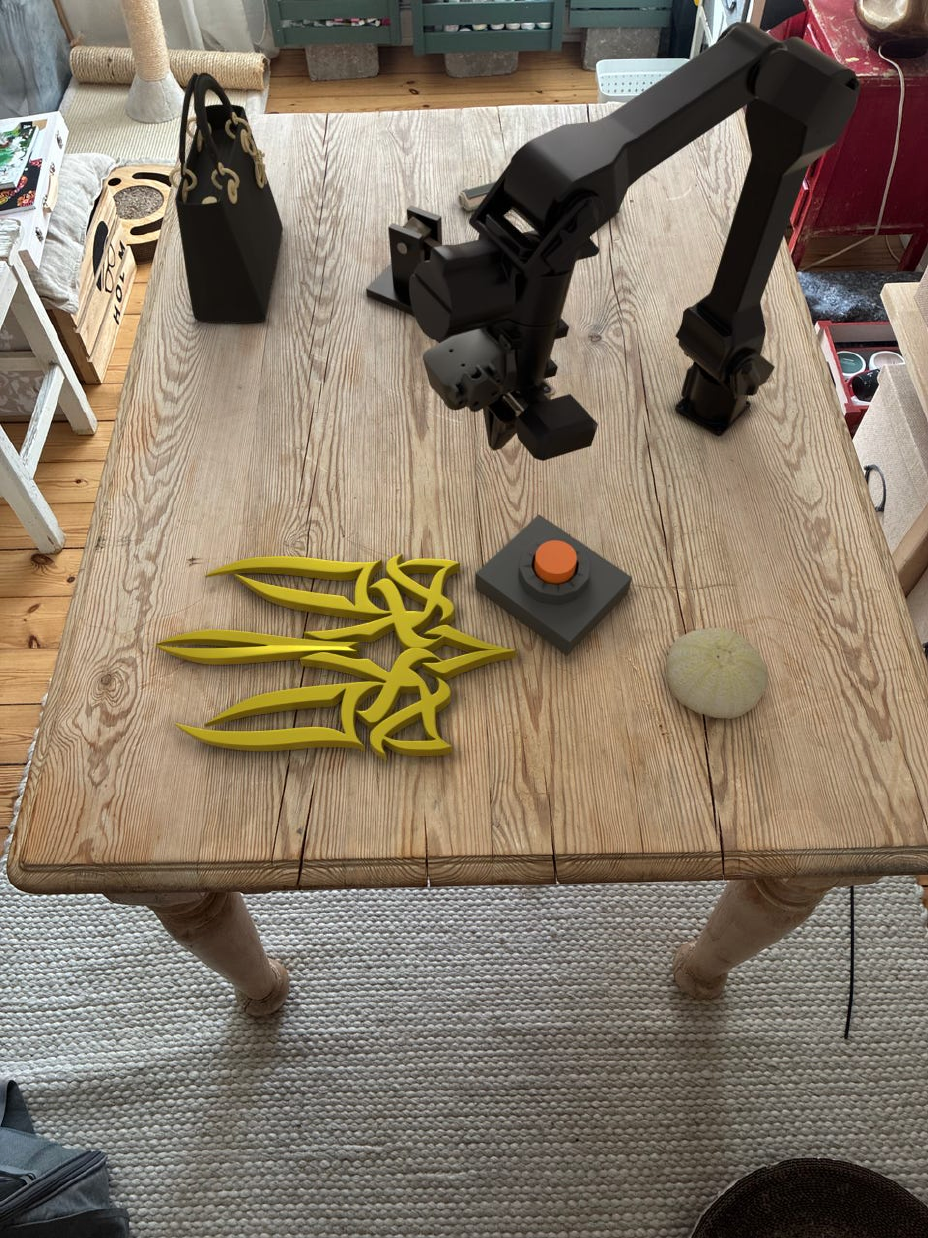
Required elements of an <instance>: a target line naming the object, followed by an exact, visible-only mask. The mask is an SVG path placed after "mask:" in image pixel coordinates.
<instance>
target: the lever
mask: <svg viewBox="0 0 928 1238" xmlns="http://www.w3.org/2000/svg"><path fill="white" fill-rule="evenodd" d="M402 227H404V228H407V229H409V230H412V231H415V232H417V233H420V234H422V235H423V238H424V249H426V250H427V251H429V252H430V253H431V250H432V249H433V247H437V246H442V245H443V244H442V245H441V244H439V243H438V242H437V241H435V240H434V239H432V238H431V237H430V234H431V230H432V229H431V228H429V227H428V226H427V225H425V224H424V223H422V222H421V221H419V220H418V219H416V218H415V217H412V218H411V219H410V220H409V221H408V222H407V221H406V222H405V223H404V224H403V226H402Z"/></svg>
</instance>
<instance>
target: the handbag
mask: <svg viewBox="0 0 928 1238" xmlns="http://www.w3.org/2000/svg"><path fill="white" fill-rule="evenodd" d="M208 90H210V91H211V92H213V93H214V94H215V95H216V96H217V97H218V99H219V101H220V103H221V104H219V103H218V104H217V103H215V104H209V105H206V94H207V91H208ZM192 97H193V110H194V114H195V116H193V117H190V118H189V113H190V112H189V111H190V106H191V100H192ZM181 109H182V110H181V117H180V126H179V135H178V140H179V141H178V160H179V163H180V166H179V167H175V168H173V169H172V170H171V171H170V172H169V174H168V178H169V183H170V184H171V185H172V186H173V188H175V189H177V191H176V195H175V198H174V202H175V208H176V215H177V221H178V227H179V228H178V229H179V235H180V241H181V248H182V254H183V261H184V266H185V274H186V280H187V281H186V282H187V287H188V295H189V298H190V304H191V311H192V314H193V317H194V319H195V320H196V321H199V322H207V323H208V322H209V323H230V324H231V323H234V324H235V323H236V324H240V323H258V322H262V321H264V320H265V319H266V317H267V312H268V307H269V303H270V298H271V292H272V289H273V287H272V286H273V282H274V278H275V273H276V267H277V263H278V257H279V252H280V246H281V241H282V236H283V229H284V228H283V223H282V220H281V216H280V213H279V210H278V207H277V203H276V201H275V197H274V195H273V191H272V188H271V186H270V183H269V179H268V177H267V173H266V164H265V163H264V159H263V158H265V157H266V153H265V152H262V150H261V149H258V146H257V144H256V140H255V137H254V135H253V130H252V127H251V125H250V122H249V119H248V117H247V113H246V110H245V107H244V106H241V105H239V104H232V103H231V101H230V99H229V96H228V95H227V93H226V92H225V90H224V88H223V87H222V86H221V84H220V83H219V82H218V81H217V80H216V78H215V77H214V76H213V75H211V74H210V73H208V72H200V73H197V72H193V73H192V74H191V77H190V78H189V79H188V81H187V85H186V87H185V92H184V96H183V101H182V108H181ZM194 122H195V126H196V128H195V131H194V134H193V132H192V131H191V130H190V124H191V123H194ZM187 135H188V137H189V138H191V139H192V141H191V144H190V147H189V152H188V154H187V157H186V150H187V149H186V147H187V146H186V145H187ZM176 173H179V175H180V180H179V184H177V182H176V181H175V179H174V176H175V174H176Z"/></svg>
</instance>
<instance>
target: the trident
mask: <svg viewBox="0 0 928 1238" xmlns="http://www.w3.org/2000/svg"><path fill="white" fill-rule="evenodd" d="M383 563H384V562H383V559H378V560H376V561H375V560H374V561H368V562H367V561H365V562H361V561H360V562H358V561H355V562H354V561H337V560H329V559H322V558H316V557H315V558H313V557H306V556H293V555H291V556H290V555H289V556H287V555H276V556H274V555H273V556H258V557H250V558H249V557H248V558H244V559H240V560H237V561H233V562H229V563H228V564H225V565H223V566H220V567H218V568H216V569H214V570H211V571H210V572H208V573H206V574H205V575H204V578H205V579H206V578H211V577H219V576H227V575H233V576H234V578H235V579H236V580H237V581H238V582H240V583H241V584H243V585H244V586H245V587H246V588H248V589H249V590H250V591H252V592H253V593H254V594H256V595H257V596H259V597H261V598H262V599H264V600H265V601H267V602H269V603H272V604H274V605H277V606H280V607H284V608H287V609H292V610H296V611H300V612H306V613H311V614H317V615H324V616H330V617H336V618H337V617H338V618H345V619H353V620H360V621H367V622H366V623H362V624H358V625H352V626H348V627H341V628H335V629H329V630H314V631H313V630H312V631H303V636H304V638H299V637H288V636H281V635H273V634H267V633H259V632H251V631H243V630H232V629H218V628H217V629H200V630H195V631H189V632H185V633H181V634H178V635H174V636H170V637H167V638H166V639H163V640H161V641H159V642H157V643H155V646H156V647H157V648H158V649H159V650H161V651H162V652H164V653H165V654H168V655H171V656H172V657H173V656H174V657H176V658H178V659H182V660H185V661H189V662H192V663H196V664H203V665H215V666H216V665H218V666H219V665H221V666H222V665H224V666H225V665H227V666H228V665H243V664H259V663H269V662H282V661H294V660H299V662H300V665H301V667H305V668H315V669H322V670H330V671H334V672H339V673H343V674H347V675H351V676H354V677H358V678H361V679H364V680H366V681H357V682H347V683H346V682H345V683H336V684H323V685H322V684H321V685H313V686H304V687H303V686H302V687H296V688H288V689H281V690H275V691H270V692H265V693H262V694H258V695H257V694H256V695H255V696H251V697H248V698H246V699H244V700H242V701H240V702H238V703H235V705H232V706H231V707H229V708H227V709H225V710H224V711H222V712H221V713H219V714H218V715H216V716H215V717H213V718H211V719H210V720H208V721H207V722H205V723H204V724H203V726H204V727H205V728H206V729H204V728H199V727H193V726H188V725H185V724H181V723H177V722H174V721H173V722H172V723H173V724H174V726H176V727H177V728H178V729H179V730H180V731H182V732H183V733H185V734H186V735H188V736H190V737H192V738H194V739H195V740H197V741H199V742H202V743H203V744H206V745H210V746H213V747H216V748H222V749H227V750H228V749H229V750H236V751H237V750H238V751H245V752H279V751H280V752H281V751H292V750H303V749H304V750H305V749H318V748H342V749H343V748H344V749H355V750H359V751H362V752H364V753H366V747H365V745H364V744H363V743H362V742H361V741H360V740H359V738H358V735H357V732H356V718H357V719H358V720H359V721H360V722H361V723H362V724H364V725H365V726H366V727H367V728H368V729H369V730H371V731H370V734H369V743H370V748H371V750H372V752H373V753H374V754H375V755H376V756H377V757H378V758H380V759H381V760H383V761H385V762H387V761H388V757H387V753H386V752H385V751H384V748H385V747H386V748H387V749H388V750H390V751H392V752H394V753H396V754H399V755H401V756H402V755H403V756H408V757H441V756H446V755H449V754H453V746H452V745H451V744H449V743H448V742H446V741H445V740H443V739H442V738H441V737H440V736H439V733H438V730H437V714H438V713H440V711H443V710H444V709H445V708H446V707H447V706H449V705H450V703H451V701H452V690H451V687H450V686H449V685H448V683H447V682H446V681H448V680H450V679H451V678H454V677H457V676H459V675H462V674H464V673H466V672H469V671H472V670H474V669H478V668H479V667H483V666H485V665H488V664H492V663H497V662H500V661H506V660H512V659H515V658H516V655H517V650H515V649H512V648H506V647H503V646H499V645H495V644H492V643H489V642H486V641H484V640H480V639H479V638H476V637H474V636H471V635H469V634H467V633H464V632H462V631H461V630H458V629H456V628H453V627H452V626H450V624H451V623H452V622H453V621H454V620H455V617H456V607H455V604H454V603H453V602H452V600H450V599H449V598H447V597H445V596H444V595H443V594H444V590H445V589H444V587H445V585H446V582H447V580H448V579H449V578H450V577H451V576H453V575H456V574H457V573H460V572H461V562H459V561H455V560H451V559H444V558H443V559H442V558H415V559H410V560H407V561H405V562H404V556H403V553H400V554H397V555H395V556H392V557H391V558H390V559H388V561H387V562H386V564H385V575H386V578H381V579H379V580H377V582H375V583H373V584H372V582H373V579H374V578H375V576H376V574H377V573H379V572H380V571H381V570H383V569H384V564H383ZM239 574H270V575H286V576H295V577H303V578H309V579H310V578H311V579H319V580H324V581H325V580H326V581H337V582H341V581H342V582H344V581H345V582H346V581H353V580H356V582H355V584H354V585H355V586H354V604H353V603H352V602H351V601H350V600H349V599H348V598H347V597H346V596H344V595H337V594H328V593H327V594H326V593H320V592H314V591H313V592H312V591H306V590H300V589H295V588H288V587H283V586H278V585H273V584H268V583H265V582H262V581H261V582H260V581H257V580H254V579H251V578H248V577H245V576H243V575H239ZM411 574H430V575H434V576H433V578H432V580H431V583H430V586H429V588H426V586H425V587H424V586H423V585H421V584H419V583H418V582H416V581H414V580H413V579H411V578H410V577H408V576H407V575H411ZM371 584H372V585H371ZM401 593H402V594H403V595H405V596H407V597H408V598H410V599H412V600H413V601H415V602H417V603H419V604H421V605H423V606H425V607H424V610H423V611H418V610H417V611H415V610H407V608H406V607H405V604H404V601H403V598H402V595H401ZM369 596H370V597H379V598H381V600H382V601H383V603H384V604H385V606H386V608H387V610H383V609H380V608H379V607H377V606H376V605H375V604H374V603H373V602H372V601H371V600H370V598H369ZM437 614H439V615H440V616H441V618H440V619H439V620H438V626H436V627H434V628H432V629H430V630H428V631H425V632H424V633H423V637H422V636H420V635H418V634H419V633H421V632H422V631H423V630H424V629H426V628H427V627H428V626H429V625H430V624H431V623H432V621H433V619H435V616H437ZM392 632H395V635H396V639H397V641H398V644H399V645H400V648H401V649H402V650H403V652H401V653H400V654H399V656H398V657H397V658H396V659H395V662H394V663H393V665H392V667H391V669H390V671H389V672H388V671H387V670H385V669H383V668H382V667H381V666H379V665H377V664H376V663H375V662H374V661H372V660H371V659H369V658H360V655H359V651H360V650H361V647H360V646H361V645H360V643H369V644H372V643H375V642H376V641H378V640H379V639H381V638H383V637H384V636H386V635H388V634H391V633H392ZM174 645H176V646H177V645H197V646H198V645H199V646H200V645H202V646H214V647H213V648H208V647H207V648H197V647H196V648H195V647H172V646H174ZM444 645H445V646H449V647H451V648H454V649H457V650H459V651H462V652H465V653H466V654H461V655H458V656H455V657H452V658H448V659H445V660H442V659H441V658H439V657H438V656H437V655H435V654H434V653H433V652H435V651H437V650H438V649H439V648H441V647H443V646H444ZM215 646H216V648H215ZM217 646H218V647H217ZM420 667H421V670H422V672H424V673H426V674H427V675H429V676H431V677H432V678H435V685H436V686H437V691H436V692H435V693H433V694H432V693H431V691H430V689H429V687H428V685H427V683H426V681H425V680H424V679H423V678H422V677H421V676H420V675H419V674H418V673H417V672H415V671H416V670H418V669H419V668H420ZM375 694H378V695H377V697H376V699H375V700H374V702H373V703H372V704H371V706H369V708H368V709H365V710H361V711H360V710H359V708H360V706H361V705H362V703H364V702H365V701H366V700H367V699H369V698H370V697H372V696H374V695H375ZM402 694H407V695H408V694H409V695H411V694H419V698H420V700H419V701H416V702H415V703H413V704H411V705H408V706H407V707H404V708H402V709H400V710H399V711H396V712H395V713H393V711H394V710H395V708H396V705H397V703H398V701H399V699H400V697H401V695H402ZM340 702H341V707H340V708H341V709H340V720H341V725H342V728H343V732H342V731H339V730H337V729H334V728H329V727H322V726H307V727H306V726H305V727H293V728H281V729H271V730H270V729H269V730H255V731H254V730H253V731H252V730H251V731H249V730H248V731H244V730H243V731H241V730H240V731H237V730H236V731H235V730H233V731H230V730H214V729H207V728H210V727H213V726H217V725H220V724H224V723H227V722H231V721H234V720H238V719H243V718H247V717H253V716H259V715H267V714H272V713H281V712H287V711H296V710H304V709H305V710H307V709H317V708H318V709H319V708H332V707H335V706H336V705H338V704H339V703H340ZM392 713H393V714H392ZM420 720H421V721H422V725H423V730H424V733H425V736H426V738H427V740H398V739H392V737H394V735H396V734H397V733H399V732H401V731H402V730H403V729H405V728H407V727H409V726H410V725H413V724H415V723H416V722H418V721H420Z"/></svg>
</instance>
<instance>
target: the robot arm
mask: <svg viewBox="0 0 928 1238" xmlns="http://www.w3.org/2000/svg"><path fill="white" fill-rule="evenodd" d="M860 91H861V81H860V80H859V79H858V76H857V73H856V71H855V70H853V69H851V68H849V66H847V65H845V64H843V63H841V62H840V61H838V60H837V59H836V58H833V57H831V55H828V54H827V53H825V52H823V51H821V49H819V48H817V47H815V46H814V45H812V44H811V43H809V42H807V41H806V40H804V39H803V38H801V37H799V36H790V37H788V38H786V39H784V40H782V41H781V40H779V39H777V38H776V37H774V36H772V35H771V34H770V33H768V32H766V31H764V30H763V29H761V28H760V27H758V26H757V25H755V24H754V23H751V22H749V21H748V22H747V21H744V22H742V21H736V22H734V23H730V24H729V25H728V26H727V27H726V28H725V29H724V30H723V31H722V32H721V34H720V35H719V36H718V38H717V40H716V42H715V43H713V44H712V45H710V46H709V47H707V48H706V49H705V50H703V51H702V52H700V53H698V54H697V55H695V56H694V57H693V58H691V59H690V60H688V61H687V62H685V63H683V64H682V65H681V66H679V67H678V68H676V69H674V70H673V71H672V72H670V73H668V74H667V75H666V76H664V77H663V78H662V79H660V80H659V81H657V82H656V83H654V84H652V85H651V86H650V87H648V88H647V89H645V90H644V91H642V92H640V93H639V94H638V95H636V96H635V97H633V98H632V99H630V100H629V101H627V102H626V103H625V104H623V105H621V106H620V107H618V108H617V109H615V110H614V111H612V112H610V114H607V115H606V116H603V117H601V118H599V119H598V120H594V121H586V122H576V123H575V122H574V123H565V124H562V125H560V126H557V127H555V128H553V129H551V130H549V131H547V132H545V133H542V134H541V135H538V136H537V137H534V138H532V139H530V140H528V141H527V142H525V143H524V144H523V145H522V146H521V147H520V148H518V150H516V152H515V153H514V154H513V155H512V156H511V159H510V162H509V163H508V165H507V166H506V167H505V169H504V170H503V171H502V172H501V174H500V175H499V176H498V178H497V180H495V181H496V183H495V184H494V185H493V187H492V188H491V190H490V191H489V192H488V194H487V195H486V197H485V198H484V199H483V201H482V202H481V203H480V205H479V206H478V208H477V209H476V210H474V212H473V213H472V214H471V215H470V217H469V219H468V225H470V226H471V228H473V230H475V231H476V232H477V233H478V238H477V239H475V240H471V241H466V242H462V243H456V244H442V246H437V247H433V249H432V250H431V254H430V260H429V261H424V262H422V263H420V264H418V266H417V267H416V268H415V271H414V273H413V275H411V276H410V282H409V293H410V301H411V306H412V310H413V313H414V316H413V317H414V318H415V320H416V323H417V325H418V326H419V328H420V329H421V331H422V332H423V334H424V335H425V336H427V337H428V338H429V339H431V340H434V341H436V343H437V344H436V345H433V346H431V347H430V348H428V349H427V350H426V351H424V353H423V355H422V361H423V364H424V365H423V366H424V369H425V372H426V375H427V380H428V383H429V386H430V387H431V389H432V390H434V391H435V393H436V394H437V395H438V397H439V398H440V399H441V400H442V401H443V403H444V405H445V406H446V407H447V409H449V410H452V411H460V410H462V409H465V408H467V409H468V410H469V411H470V412H472V413H478V412H480V411H482V412H483V418H484V425H485V432H486V437H487V443H488V446H489V447H490V449H491V451H493V452H494V451H498V450H501V449H503V448H504V447H505V446H506V445H507V444H508V443H509V442H510V441H511V440H512V439H513V438H514V437H515V436H516V435H517V440H518V441H519V442H520V443H521V445H522V446H524V448H525V449H526V451H527V452H528V453H529V454H530V455H531V456H532V458H534V459H535V460H539V461H543V462H544V461H547V460H552V459H554V458H557V457H560V456H563V455H568V454H570V453H574V452H577V451H579V450H582V449H586V448H589V447H592V445H593V441H594V439H595V436H596V433H597V430H598V427H599V423H598V422H597V421H596V420H595V419H594V417H593V416H592V415H591V414H590V413H589V412H588V411H587V410H586V409H585V408H584V406H582V404H581V403H580V402H579V401H578V400H577V398H575V397H574V396H573V395H572V394H571V393H568V394H565V395H561V396H557V397H553V396H555V395H556V394H557V393H556V392H557V389H556V388H555V387H554V386H553V385H552V384H551V383H550V382H549V380H548V379H550V378H553V377H556V375H557V373H558V369H559V366H558V365H557V364H556V362H555V361H554V360H553V359H552V358H551V356H552V352H553V348H554V345H555V341H556V340H559V339H563V338H567V337H568V333H569V329H570V325H569V324H567V322H566V321H564V319H563V318H562V315H563V311H564V309H565V304H566V302H567V301H566V300H567V296H568V293H569V289H570V285H571V282H572V278H573V275H574V271H575V267H576V264H577V262H578V261H582V260H585V259H589V258H594V257H596V256H597V255H599V253H600V247H599V246H598V245H597V244H595V242H594V241H593V240H592V238H591V237H592V236H593V235H594V234H596V232H598V231H599V230H600V229H602V227H603V226H604V225H606V224H607V223H608V222H609V221H610V220H612V218H614V217H615V216H616V215H617V214H618V213H617V212H618V211H619V212H620V209H621V205H622V204H623V201H624V199H625V197H626V195H627V192H628V190H629V188H631V186H632V185H633V184H635V183H636V182H637V181H638V180H639V179H640V178H642V176H644V175H646V174H647V173H649V172H650V171H652V170H653V169H655V168H656V167H658V166H659V165H660V164H662V163H663V162H665V161H667V160H668V159H669V158H671V157H673V156H674V155H675V154H676V153H678V152H679V151H681V150H682V149H684V148H686V147H687V146H688V145H690V144H691V143H693V142H694V141H695V140H697V139H699V138H700V137H702V136H703V135H705V134H706V133H708V132H709V131H710V130H712V129H714V128H715V127H716V126H717V125H719V124H721V123H722V122H724V121H725V120H726V119H728V118H729V117H731V116H733V115H734V114H736V113H737V112H739V111H740V110H741V109H742V108H744V107H745V114H744V123H745V127H746V134H747V137H748V143H749V148H750V153H751V154H750V155H751V157H750V160H749V165H748V167H747V171H746V174H745V178H744V181H743V184H742V187H741V190H740V194H739V197H738V201H737V204H736V206H735V211H734V214H733V216H732V220H731V224H730V227H729V230H728V234H727V237H726V240H725V243H724V248H723V250H722V253H721V257H720V260H719V262H718V263H719V264H718V267H717V270H716V274H715V276H714V280H713V284H712V286H711V289H710V292H709V293H708V294H707V295H705V296H704V297H702V298H701V299H700V300H699V301H697V302H696V303H695V304H693V305H691V306H688V307H686V308H685V309H684V310H683V311H682V318H681V324H680V325H679V329H678V330H677V332H676V333H675V338H676V339H677V340H678V346H679V348H680V349H681V350H682V351H683V355H685V356H686V357H688V358H689V359H690V360H692V361H693V362H692V364H691V365H690V366H689V367H688V368H687V370H686V373H685V377H684V381H683V384H682V388H681V392H680V396H681V397H682V399H681V400H679V401H678V402H677V403H676V404H675V406H674V411H675V412H676V413H678V414H680V415H681V416H683V417H685V418H687V419H688V420H690V421H692V422H693V423H695V424H696V425H698V426H701V428H703V429H705V430H707V431H709V432H710V433H712V434H714V435H716V436H718V437H721V436H724V434H726V432H728V431H729V429H730V428H732V426H733V425H735V423H736V422H738V421H739V420H740V419H741V418H742V416H744V415H745V414H746V412H747V411H748V410H749V409H751V406H752V403H751V402H750V401H749V400H748V398H749V397H753V396H755V395H757V393H758V392H759V391H758V390H759V388H760V386H762V385H764V384H766V383H767V382H768V380H769V379H770V376H771V375H772V373H773V371H774V370H775V368H776V367H775V365H773V364H772V363H771V362H770V361H769V360H768V359H766V357H764V356H763V355H762V351H763V347H764V343H765V338H766V333H767V328H766V323H765V317H764V312H763V307H762V303H761V301H762V298H763V296H764V292H765V290H766V288H767V284H768V281H769V278H770V276H771V274H772V270H773V268H774V265H775V262H776V259H777V256H778V254H779V251H780V248H781V245H782V242H783V240H784V238H785V234H786V232H787V228H788V226H789V223H790V220H791V217H792V215H793V213H794V212H793V211H794V208H795V206H796V203H797V200H798V198H799V195H800V192H801V189H802V186H803V184H804V181H805V178H806V176H807V172H808V170H809V168H810V165H812V164H813V163H814V162H815V161H816V160H817V159H819V158H820V157H821V156H823V155H824V154H825V153H826V152H827V151H829V150H830V149H831V148H832V147H834V146H835V145H836V144H837V143H838V142H839V139H840V138H841V136H842V134H843V131H844V129H845V127H846V125H847V123H848V122H849V120H850V119H851V118H852V115H853V114H854V112H855V110H856V106H857V104H858V98H859V95H860ZM511 210H512V211H513V212H514V213H515V214H517V216H519V217H520V218H521V219H522V220H523V221H524V222H525V223H526V224H527V225H529V226H530V227H531V228H532V229H533V230H532V229H531V230H528V231H524V232H522V231H521V230H520V229H519V228H517V226H516V225H515V224H513V223H512V222H511V221H510V220H509V219H508V218H507V217H506V216H505V215H507V214H508V213H509V212H510V211H511ZM552 397H553V398H552Z"/></svg>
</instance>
